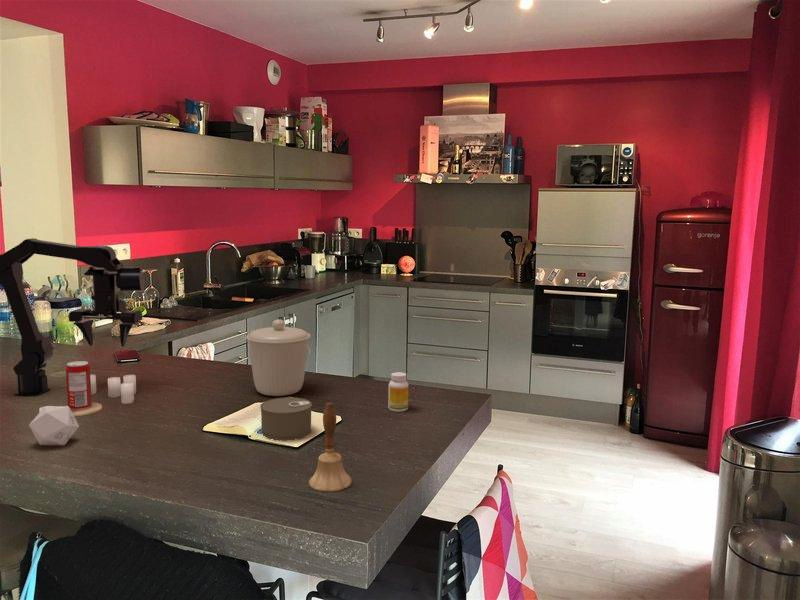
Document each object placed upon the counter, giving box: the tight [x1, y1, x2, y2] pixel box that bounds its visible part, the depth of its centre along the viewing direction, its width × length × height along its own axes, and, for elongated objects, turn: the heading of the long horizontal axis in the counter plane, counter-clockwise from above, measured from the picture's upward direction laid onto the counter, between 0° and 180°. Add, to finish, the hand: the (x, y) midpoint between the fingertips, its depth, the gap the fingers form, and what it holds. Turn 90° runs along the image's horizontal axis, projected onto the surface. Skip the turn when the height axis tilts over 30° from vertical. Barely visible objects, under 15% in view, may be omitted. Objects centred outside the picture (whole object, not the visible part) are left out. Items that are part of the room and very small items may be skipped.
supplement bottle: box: [387, 371, 410, 413], centre depth 174 cm, size 5×5×10 cm
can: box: [260, 396, 313, 442], centre depth 155 cm, size 12×12×7 cm
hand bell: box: [308, 401, 352, 492], centre depth 126 cm, size 8×8×16 cm
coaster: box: [65, 401, 103, 417], centre depth 169 cm, size 10×10×1 cm
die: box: [28, 405, 80, 446], centre depth 145 cm, size 8×9×10 cm
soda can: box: [65, 360, 93, 410], centre depth 168 cm, size 6×6×12 cm
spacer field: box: [38, 373, 137, 414], centre depth 169 cm, size 17×33×5 cm, turn 177°
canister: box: [245, 319, 312, 397], centre depth 187 cm, size 18×18×21 cm
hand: (107, 346), depth 185 cm, fingers open, 9 cm apart
